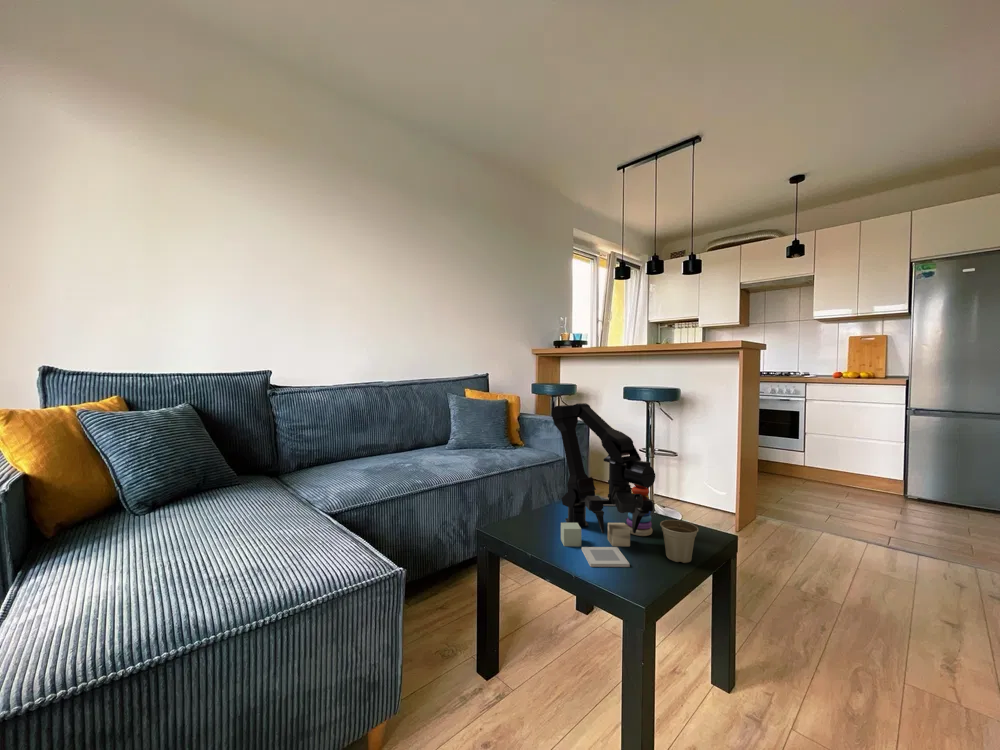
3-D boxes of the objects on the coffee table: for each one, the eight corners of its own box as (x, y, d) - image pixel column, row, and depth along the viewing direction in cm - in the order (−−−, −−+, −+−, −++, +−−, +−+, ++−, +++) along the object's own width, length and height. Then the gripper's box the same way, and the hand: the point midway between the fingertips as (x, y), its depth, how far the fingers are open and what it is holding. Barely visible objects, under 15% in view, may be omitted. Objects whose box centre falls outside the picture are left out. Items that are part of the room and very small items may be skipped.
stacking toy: (647, 539, 121) (648, 476, 121) (621, 532, 126) (622, 472, 126) (655, 531, 127) (656, 471, 127) (630, 525, 132) (631, 468, 132)
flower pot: (694, 570, 102) (695, 535, 102) (655, 559, 107) (656, 527, 107) (700, 556, 110) (701, 524, 110) (664, 547, 115) (664, 517, 115)
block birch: (607, 539, 121) (607, 522, 121) (624, 539, 121) (624, 522, 121) (612, 546, 116) (612, 529, 116) (629, 546, 116) (630, 529, 116)
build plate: (581, 549, 113) (581, 546, 113) (617, 549, 113) (617, 547, 113) (590, 566, 103) (590, 563, 103) (629, 566, 103) (629, 563, 103)
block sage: (560, 539, 120) (560, 522, 120) (577, 539, 120) (577, 522, 120) (563, 546, 115) (564, 528, 115) (581, 546, 115) (581, 528, 115)
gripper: (594, 486, 110) (593, 544, 110) (662, 487, 111) (661, 544, 111) (584, 476, 121) (584, 528, 121) (646, 476, 122) (645, 528, 122)
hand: (618, 532), depth 118 cm, fingers open, 9 cm apart
